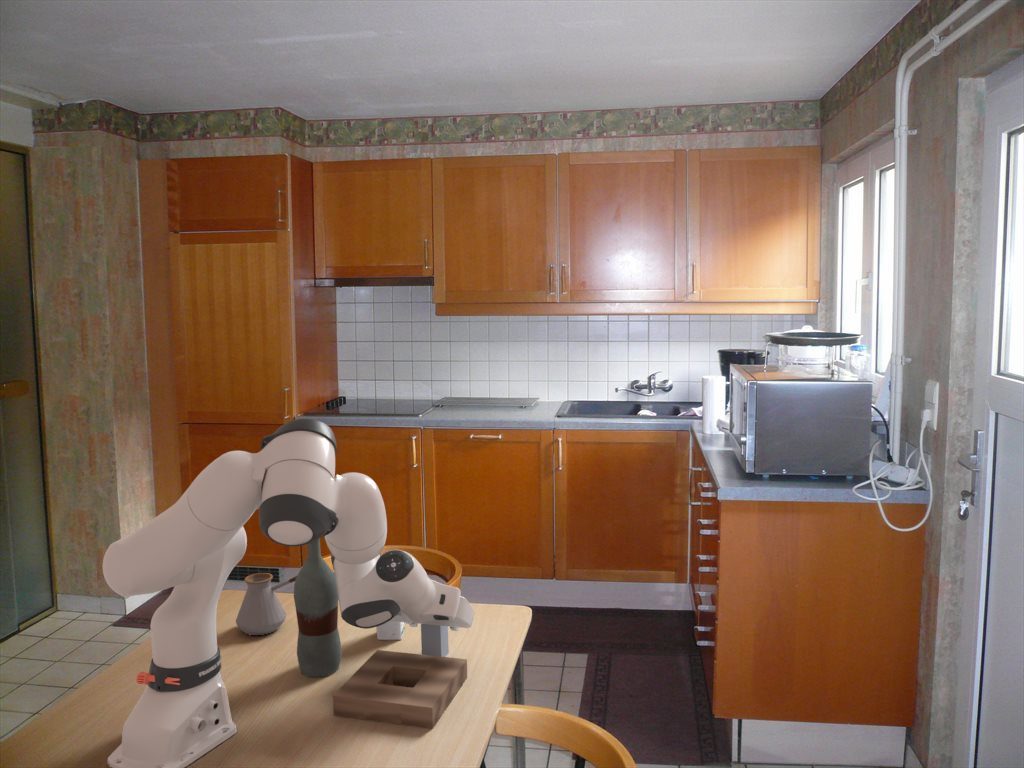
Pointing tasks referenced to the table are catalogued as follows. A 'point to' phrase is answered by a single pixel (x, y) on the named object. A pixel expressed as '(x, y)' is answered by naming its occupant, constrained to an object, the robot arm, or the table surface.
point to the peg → (434, 640)
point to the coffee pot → (261, 606)
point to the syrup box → (391, 630)
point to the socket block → (401, 688)
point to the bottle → (317, 616)
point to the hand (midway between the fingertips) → (435, 625)
